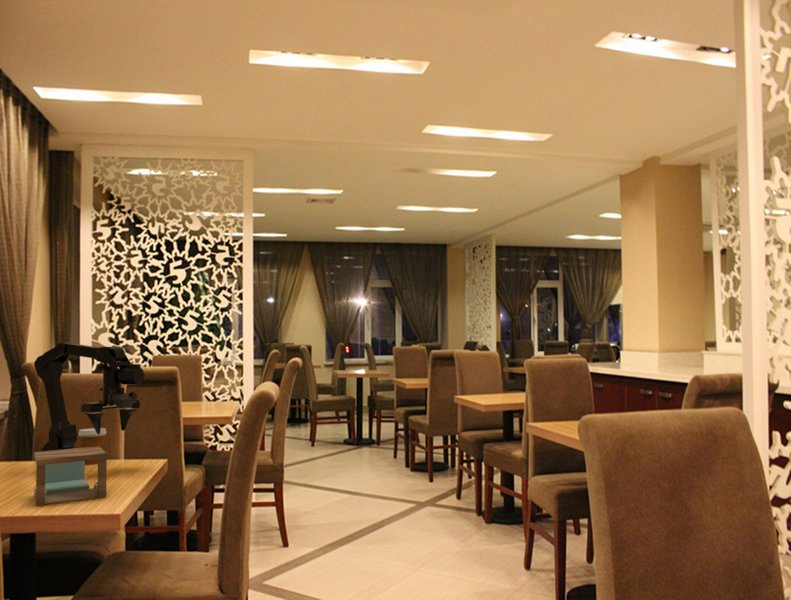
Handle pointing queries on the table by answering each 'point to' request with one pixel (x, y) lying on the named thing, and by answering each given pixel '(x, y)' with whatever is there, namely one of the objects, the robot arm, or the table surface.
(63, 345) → the robot arm
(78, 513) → the table surface
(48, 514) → the table surface
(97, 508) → the table surface
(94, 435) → the disposable coffee cup
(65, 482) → the teal plastic shell
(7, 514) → the table surface
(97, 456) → the walnut overhang shelf
